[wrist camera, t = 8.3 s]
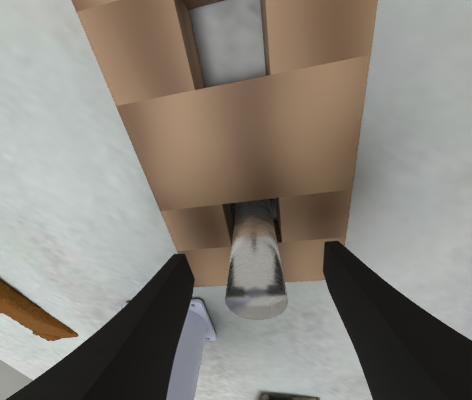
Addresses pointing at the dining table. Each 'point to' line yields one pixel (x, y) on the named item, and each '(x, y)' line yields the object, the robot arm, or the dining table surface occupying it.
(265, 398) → the newspaper
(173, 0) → the tool stand
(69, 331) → the primitive tool
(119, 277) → the dining table surface
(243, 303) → the steel peg
